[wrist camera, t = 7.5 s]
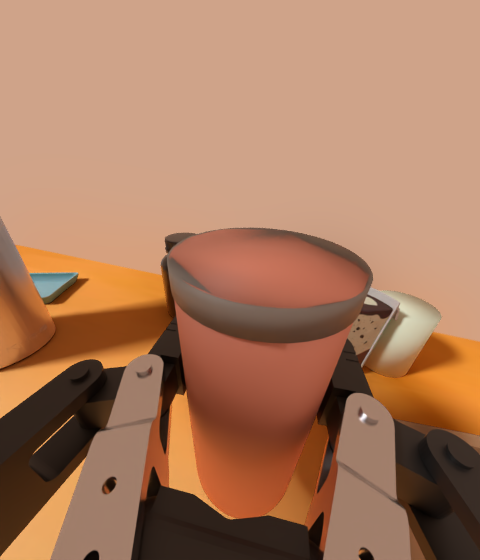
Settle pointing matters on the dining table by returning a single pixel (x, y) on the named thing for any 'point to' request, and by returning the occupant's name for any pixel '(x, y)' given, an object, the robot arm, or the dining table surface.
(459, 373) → the dining table surface
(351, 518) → the robot arm
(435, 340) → the dining table surface
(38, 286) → the shallow long dish
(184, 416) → the dining table surface
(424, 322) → the sage tin
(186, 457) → the dining table surface
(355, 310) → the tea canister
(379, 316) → the food container
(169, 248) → the supplement bottle
